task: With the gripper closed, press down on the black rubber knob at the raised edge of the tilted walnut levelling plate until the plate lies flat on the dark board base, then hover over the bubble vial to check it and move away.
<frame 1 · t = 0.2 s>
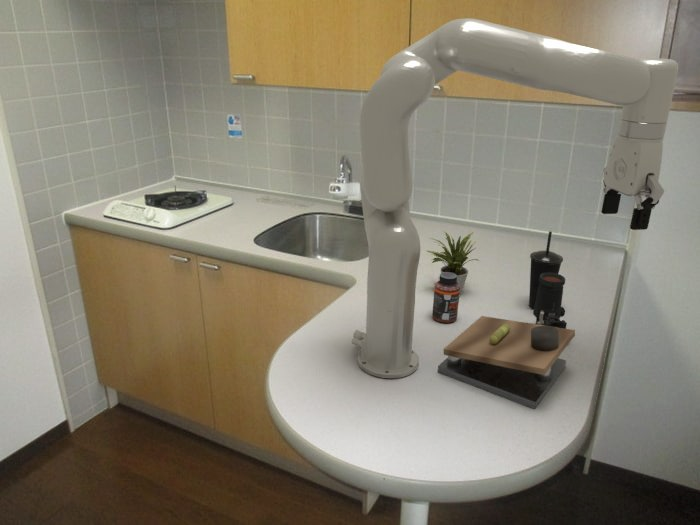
hand: (623, 221, 110), 31 cm above the worktop, tool pointing down, fingers open, 9 cm apart
levelling plate: (509, 335, 114), point 8 cm above the worktop, hinge at 9.0°
house plant: (452, 290, 153), on the worktop
supplement bottle: (444, 319, 138), on the worktop
drinking cup: (538, 307, 144), on the worktop
scope: (544, 335, 131), on the worktop
dark board base: (502, 369, 117), on the worktop
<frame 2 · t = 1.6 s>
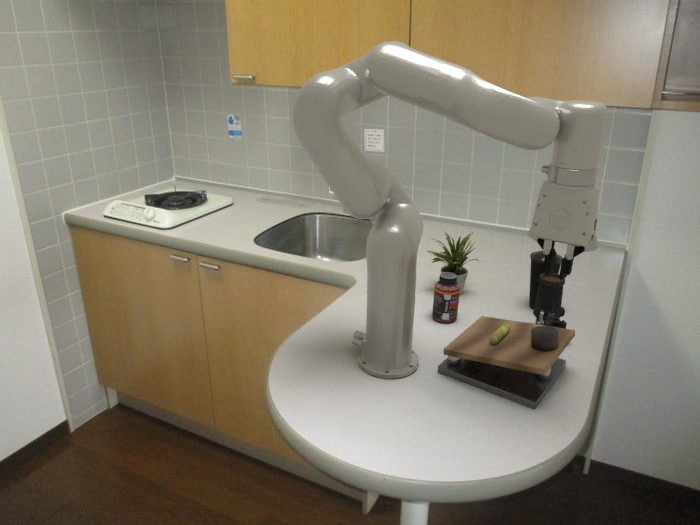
hand: (556, 274, 105), 23 cm above the worktop, tool pointing down, fingers closed
nothing on the worktop moved.
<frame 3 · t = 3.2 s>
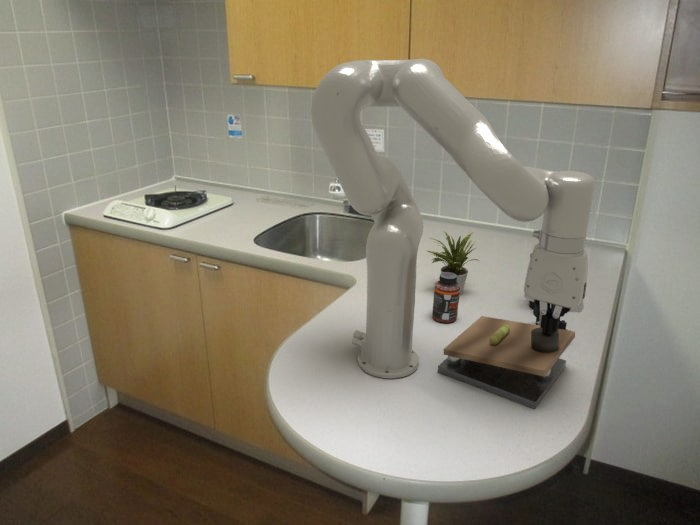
hand: (548, 332, 109), 11 cm above the worktop, tool pointing down, fingers closed
levelling plate: (509, 336, 114), point 8 cm above the worktop, hinge at 8.1°, touching gripper
everything else where it was.
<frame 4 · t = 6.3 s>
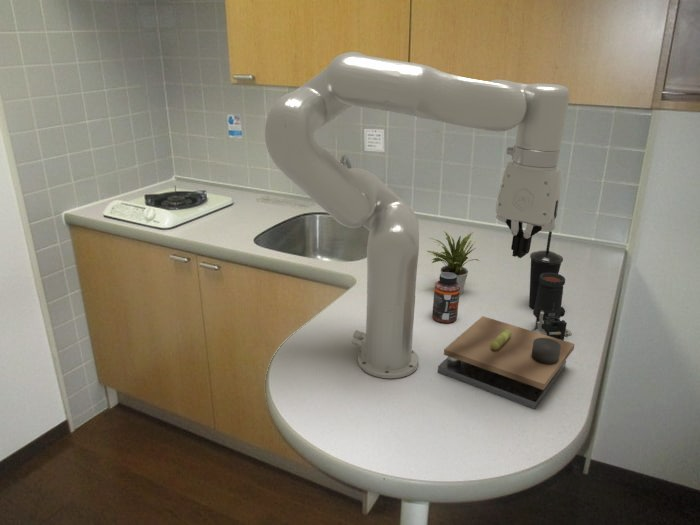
hand: (519, 255, 107), 25 cm above the worktop, tool pointing down, fingers closed
levelling plate: (510, 342, 114), point 7 cm above the worktop, hinge at 0.3°
everything else where it was.
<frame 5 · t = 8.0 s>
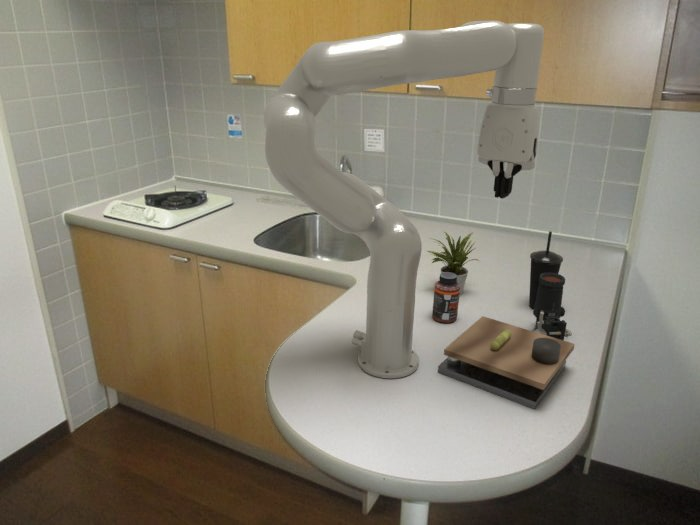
hand: (501, 196, 110), 35 cm above the worktop, tool pointing down, fingers closed
nothing on the worktop moved.
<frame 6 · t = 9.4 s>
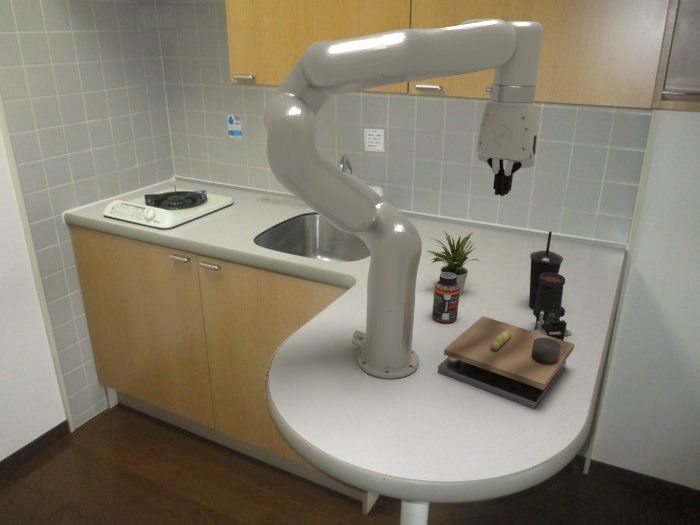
hand: (501, 193, 110), 35 cm above the worktop, tool pointing down, fingers closed
nothing on the worktop moved.
at the end: levelling plate at +0° (first picture: +9°); scope moved 0.2 cm from its start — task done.
